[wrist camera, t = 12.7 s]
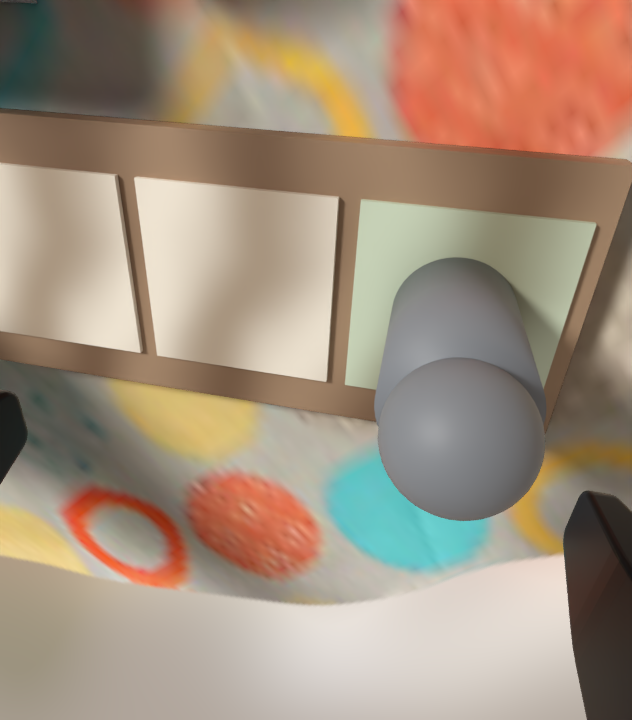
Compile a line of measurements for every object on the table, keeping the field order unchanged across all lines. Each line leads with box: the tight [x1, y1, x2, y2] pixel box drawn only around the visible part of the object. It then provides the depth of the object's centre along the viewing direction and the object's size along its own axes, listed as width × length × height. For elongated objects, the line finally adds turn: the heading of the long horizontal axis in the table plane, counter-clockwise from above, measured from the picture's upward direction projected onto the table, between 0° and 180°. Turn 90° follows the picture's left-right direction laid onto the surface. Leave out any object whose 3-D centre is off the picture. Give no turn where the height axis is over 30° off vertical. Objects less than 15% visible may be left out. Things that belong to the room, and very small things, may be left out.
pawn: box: [374, 257, 546, 521], centre depth 14 cm, size 4×4×8 cm
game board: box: [0, 108, 632, 433], centre depth 19 cm, size 23×10×1 cm, turn 87°
